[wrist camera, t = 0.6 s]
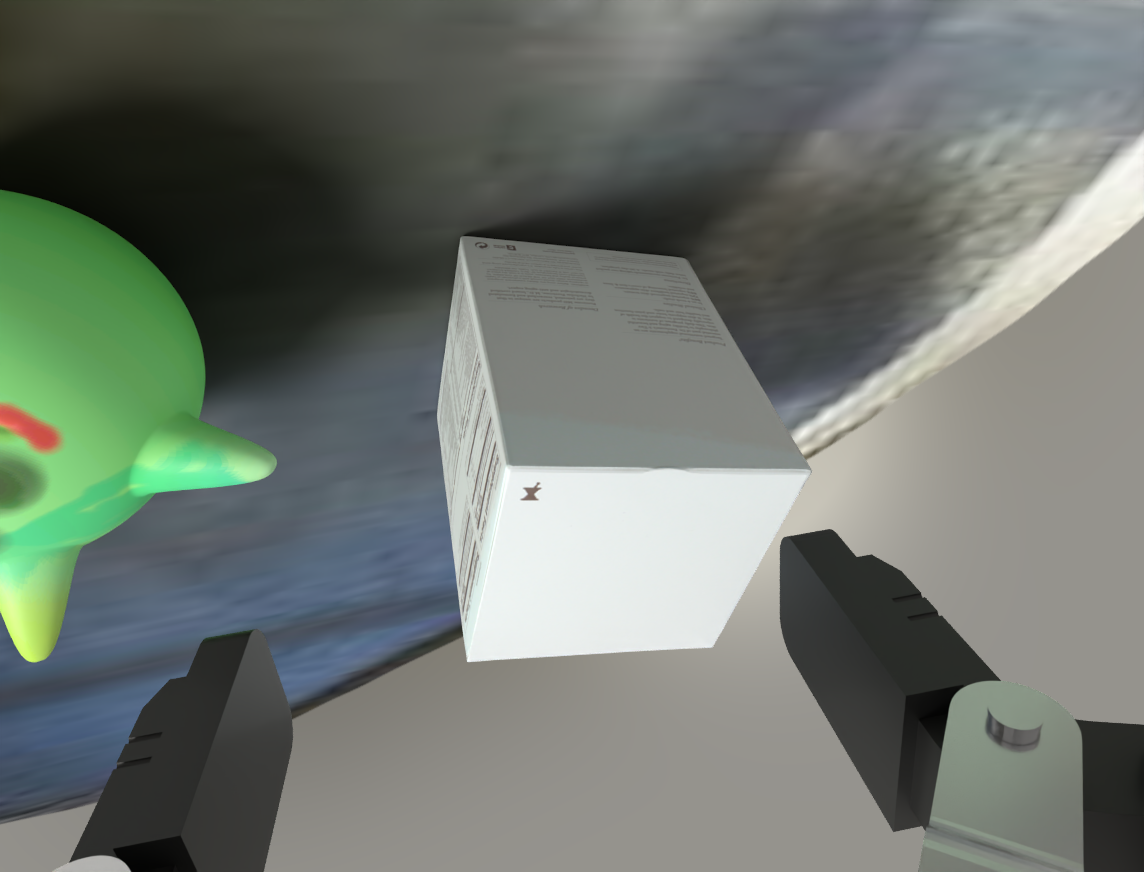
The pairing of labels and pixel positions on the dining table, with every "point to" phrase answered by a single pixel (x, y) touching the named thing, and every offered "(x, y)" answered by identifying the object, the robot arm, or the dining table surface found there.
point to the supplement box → (601, 453)
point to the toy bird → (90, 404)
